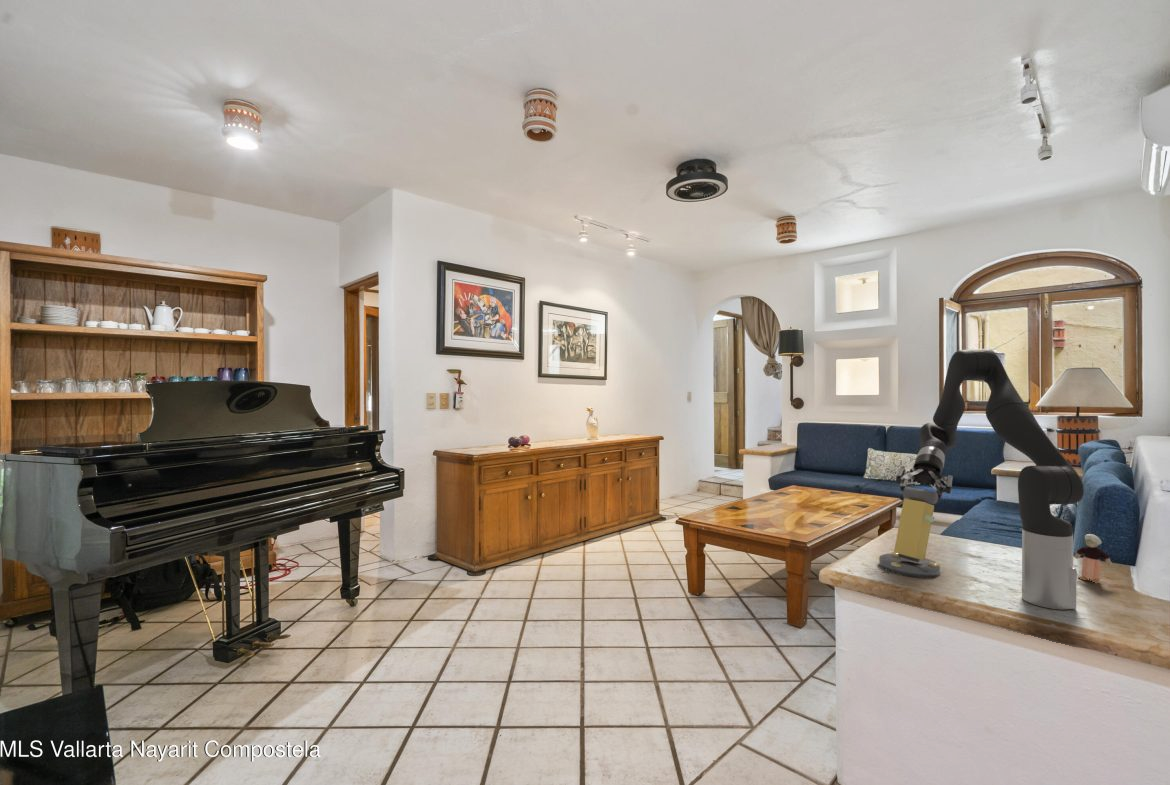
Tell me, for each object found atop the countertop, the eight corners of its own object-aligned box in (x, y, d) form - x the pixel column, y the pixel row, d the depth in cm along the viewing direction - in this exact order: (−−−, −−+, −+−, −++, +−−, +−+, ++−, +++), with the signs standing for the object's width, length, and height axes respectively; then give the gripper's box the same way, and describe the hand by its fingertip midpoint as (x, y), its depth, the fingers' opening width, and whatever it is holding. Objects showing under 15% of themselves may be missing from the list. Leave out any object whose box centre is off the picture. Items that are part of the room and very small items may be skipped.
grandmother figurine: (1071, 578, 145) (1071, 532, 144) (1075, 575, 147) (1075, 530, 147) (1110, 587, 138) (1111, 538, 138) (1113, 583, 141) (1114, 536, 141)
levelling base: (898, 557, 163) (898, 549, 163) (951, 571, 150) (951, 563, 150) (868, 565, 156) (868, 557, 156) (921, 581, 143) (921, 572, 143)
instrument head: (899, 557, 157) (912, 488, 160) (927, 564, 150) (940, 493, 153) (889, 554, 155) (902, 485, 158) (918, 562, 148) (931, 489, 151)
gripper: (904, 448, 170) (893, 477, 160) (957, 458, 162) (950, 489, 151) (902, 467, 174) (891, 497, 163) (954, 477, 165) (947, 509, 154)
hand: (919, 493), depth 157 cm, fingers open, 8 cm apart
